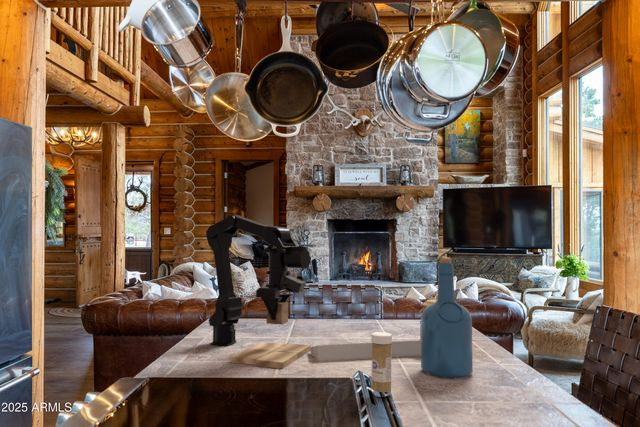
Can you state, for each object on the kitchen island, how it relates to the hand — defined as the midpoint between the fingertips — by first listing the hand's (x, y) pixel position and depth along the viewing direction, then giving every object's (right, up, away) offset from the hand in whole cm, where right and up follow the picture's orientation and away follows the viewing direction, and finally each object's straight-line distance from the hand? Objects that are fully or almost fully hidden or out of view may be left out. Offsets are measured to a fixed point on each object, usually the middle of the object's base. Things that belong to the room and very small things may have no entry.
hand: (277, 318), depth 141 cm
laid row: (+3, -10, -7) cm, 12 cm away
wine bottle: (+46, -10, -21) cm, 52 cm away
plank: (-5, -10, -4) cm, 12 cm away
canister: (+52, -11, +5) cm, 53 cm away
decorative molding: (+28, -11, -2) cm, 30 cm away
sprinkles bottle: (+27, -8, -39) cm, 48 cm away
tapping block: (0, -1, 0) cm, 1 cm away
